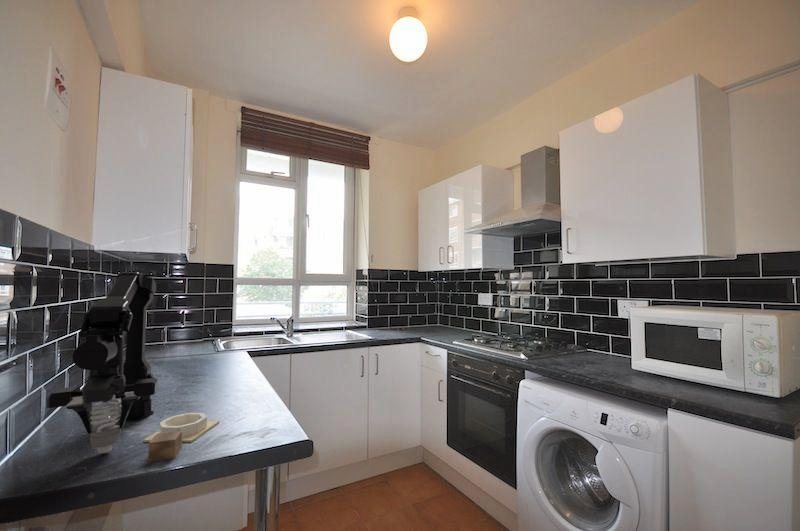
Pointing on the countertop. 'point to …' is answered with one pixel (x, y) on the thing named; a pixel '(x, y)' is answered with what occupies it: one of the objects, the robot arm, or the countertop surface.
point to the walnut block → (165, 446)
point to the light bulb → (105, 425)
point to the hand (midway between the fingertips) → (105, 430)
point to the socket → (185, 426)
